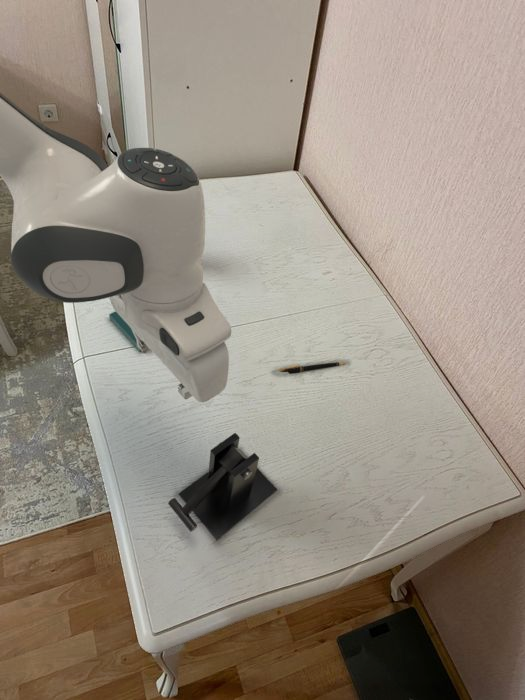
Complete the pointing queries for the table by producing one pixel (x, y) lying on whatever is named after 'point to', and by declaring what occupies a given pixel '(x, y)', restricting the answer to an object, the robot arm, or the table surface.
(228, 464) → the switch lever
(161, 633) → the table surface
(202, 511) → the switch base
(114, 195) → the robot arm
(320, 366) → the fountain pen
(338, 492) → the table surface
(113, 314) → the block
